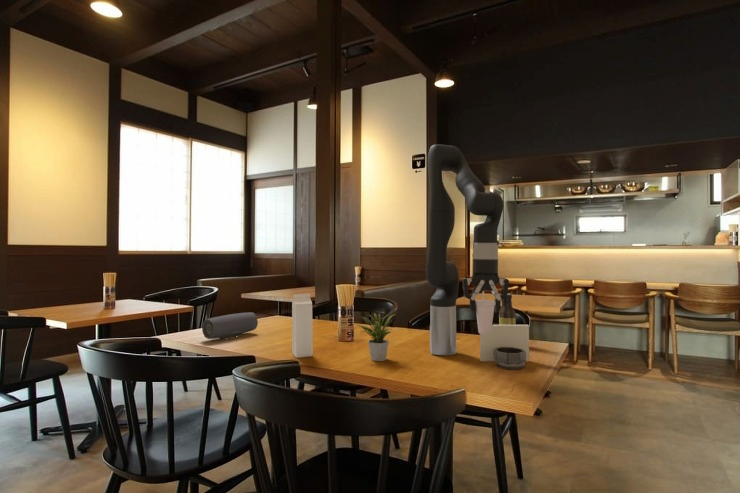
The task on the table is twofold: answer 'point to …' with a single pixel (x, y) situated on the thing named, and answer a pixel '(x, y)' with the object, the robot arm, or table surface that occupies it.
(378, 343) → the house plant
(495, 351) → the cup bracket
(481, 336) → the mounting board
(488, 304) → the smoothie
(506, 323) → the sauce bottle
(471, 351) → the table surface
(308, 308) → the milk
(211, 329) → the bluetooth speaker
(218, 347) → the table surface
